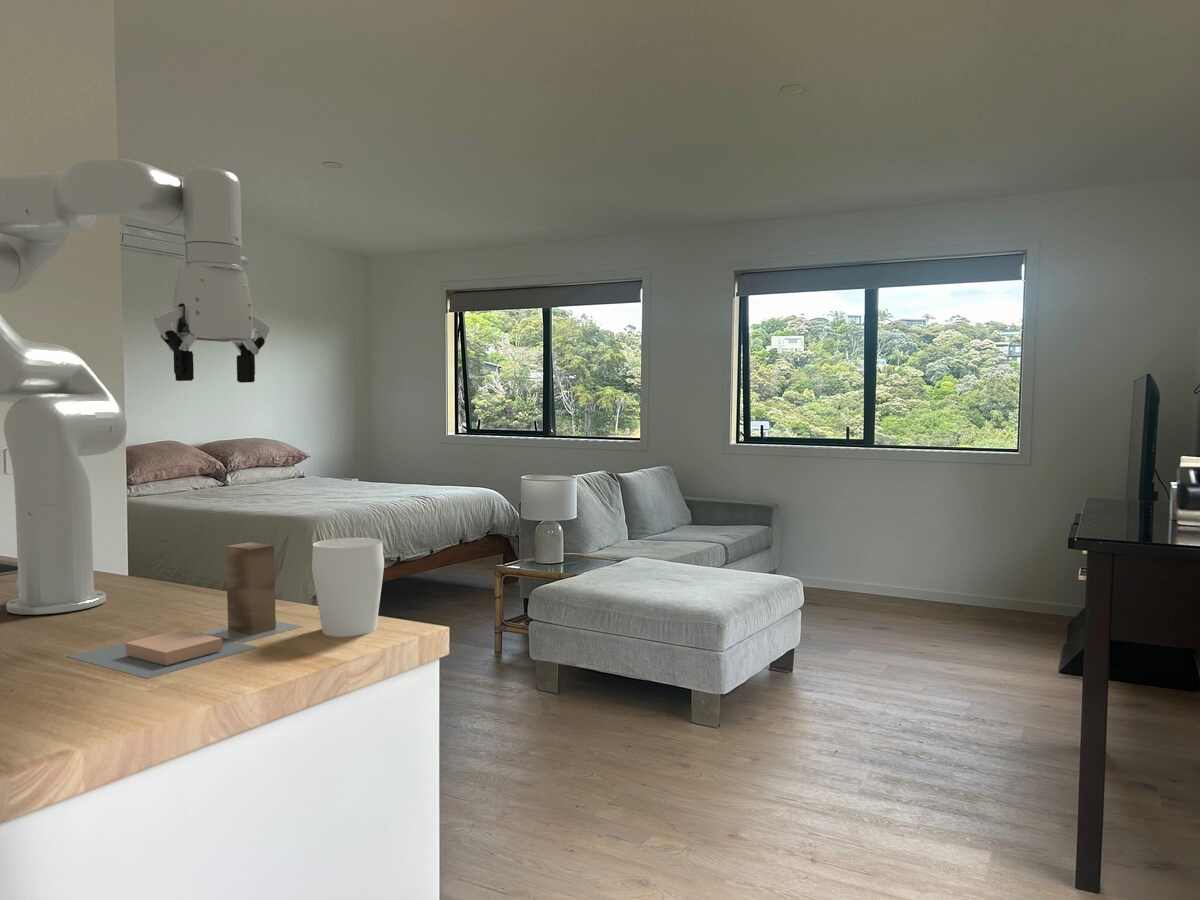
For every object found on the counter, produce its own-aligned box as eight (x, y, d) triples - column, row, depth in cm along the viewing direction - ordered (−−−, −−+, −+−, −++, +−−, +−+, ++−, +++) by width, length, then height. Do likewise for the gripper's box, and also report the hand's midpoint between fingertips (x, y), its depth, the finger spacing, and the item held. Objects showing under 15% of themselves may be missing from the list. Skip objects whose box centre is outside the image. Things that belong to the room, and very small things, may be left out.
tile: (125, 642, 101) (166, 652, 97) (181, 629, 107) (221, 638, 103) (125, 656, 101) (166, 666, 97) (181, 642, 107) (222, 651, 103)
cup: (310, 629, 116) (308, 540, 115) (379, 622, 119) (377, 535, 119) (316, 646, 107) (314, 550, 107) (390, 638, 111) (389, 545, 110)
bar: (228, 629, 113) (226, 545, 113) (251, 624, 116) (249, 542, 116) (252, 635, 111) (250, 549, 110) (275, 629, 114) (273, 545, 113)
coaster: (199, 637, 112) (199, 632, 112) (259, 622, 120) (259, 618, 120) (244, 647, 107) (244, 642, 107) (303, 630, 115) (303, 626, 115)
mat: (67, 661, 101) (67, 656, 101) (179, 634, 113) (179, 629, 113) (147, 683, 93) (147, 678, 93) (259, 652, 105) (259, 647, 105)
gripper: (249, 270, 132) (251, 383, 133) (138, 253, 117) (141, 380, 118) (282, 266, 128) (284, 382, 129) (171, 248, 114) (174, 379, 114)
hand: (216, 381), depth 124 cm, fingers open, 9 cm apart
